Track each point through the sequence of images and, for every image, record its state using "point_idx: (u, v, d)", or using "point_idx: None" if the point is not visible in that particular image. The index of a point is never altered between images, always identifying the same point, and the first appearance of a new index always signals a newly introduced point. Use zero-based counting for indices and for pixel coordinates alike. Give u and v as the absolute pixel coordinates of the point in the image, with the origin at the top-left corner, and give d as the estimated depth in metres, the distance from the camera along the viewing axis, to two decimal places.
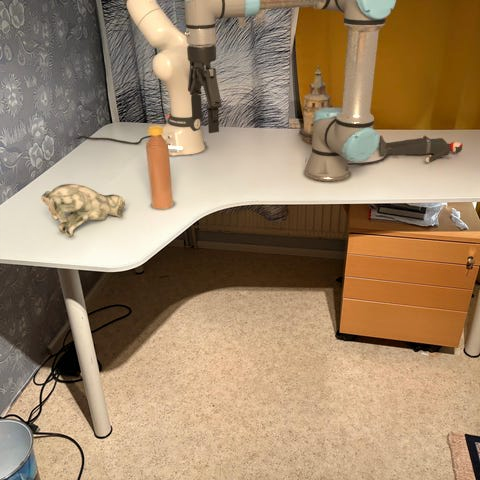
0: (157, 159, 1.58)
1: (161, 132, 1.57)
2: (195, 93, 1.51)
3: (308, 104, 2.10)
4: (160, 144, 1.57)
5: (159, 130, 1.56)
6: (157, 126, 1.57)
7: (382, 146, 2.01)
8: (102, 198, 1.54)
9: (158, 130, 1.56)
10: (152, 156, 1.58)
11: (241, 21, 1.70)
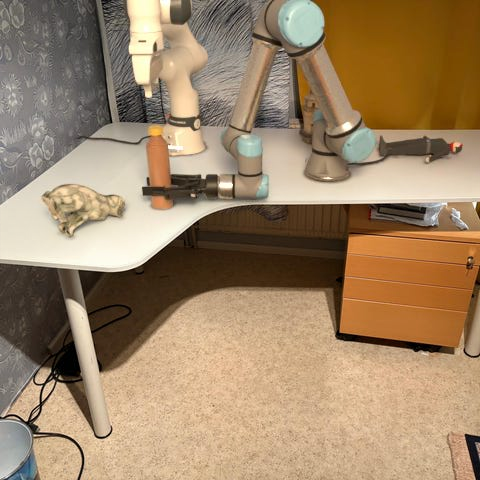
0: (157, 159, 1.58)
1: (161, 132, 1.57)
2: None
3: (308, 104, 2.10)
4: (160, 144, 1.57)
5: (159, 130, 1.56)
6: (157, 126, 1.57)
7: (382, 146, 2.01)
8: (102, 198, 1.54)
9: (158, 130, 1.56)
10: (152, 156, 1.58)
11: (148, 90, 1.47)
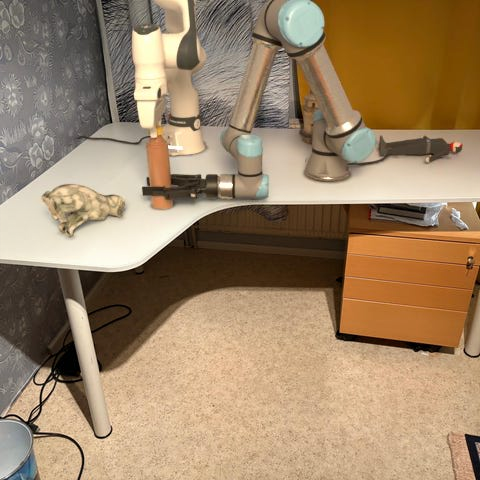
0: (157, 159, 1.58)
1: (161, 132, 1.57)
2: None
3: (308, 104, 2.10)
4: (160, 144, 1.57)
5: (159, 130, 1.56)
6: (157, 126, 1.57)
7: (382, 146, 2.01)
8: (102, 198, 1.54)
9: (158, 130, 1.56)
10: (152, 155, 1.58)
11: (153, 131, 1.54)
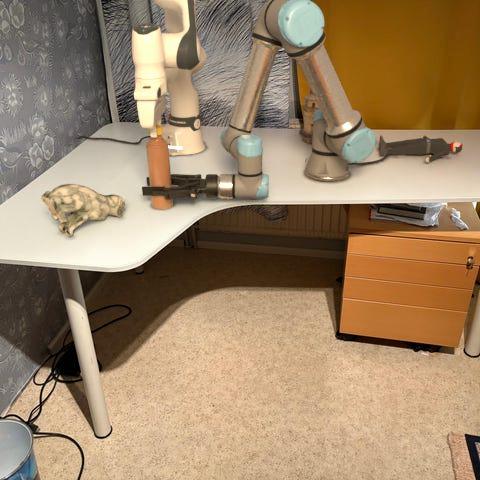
0: (157, 159, 1.58)
1: None
2: None
3: (308, 104, 2.10)
4: (160, 144, 1.57)
5: None
6: None
7: (382, 146, 2.01)
8: (102, 198, 1.54)
9: None
10: (152, 155, 1.58)
11: (153, 131, 1.54)
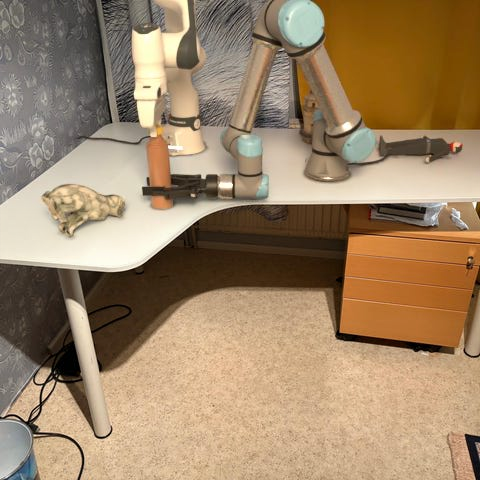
0: (157, 159, 1.58)
1: None
2: None
3: (308, 104, 2.10)
4: (160, 144, 1.57)
5: None
6: None
7: (382, 146, 2.01)
8: (102, 198, 1.54)
9: None
10: (152, 155, 1.58)
11: (153, 130, 1.54)
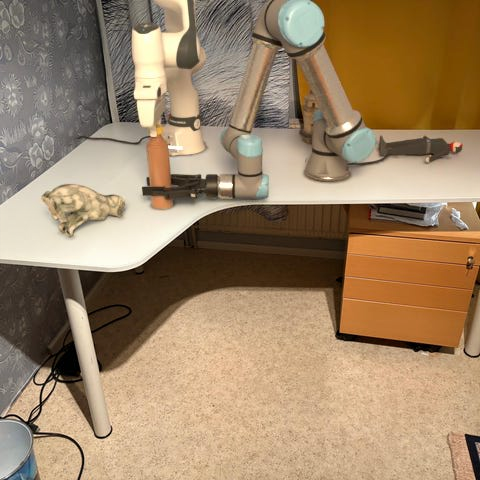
0: (157, 159, 1.58)
1: None
2: None
3: (308, 104, 2.10)
4: (160, 144, 1.57)
5: None
6: (157, 126, 1.56)
7: (382, 146, 2.01)
8: (102, 198, 1.54)
9: None
10: (152, 155, 1.58)
11: (153, 130, 1.54)
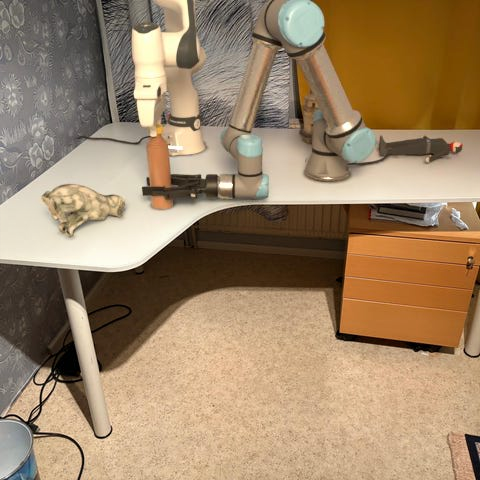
0: (157, 159, 1.58)
1: (160, 131, 1.56)
2: None
3: (308, 104, 2.10)
4: (160, 144, 1.57)
5: (158, 129, 1.55)
6: (158, 125, 1.57)
7: (382, 146, 2.01)
8: (102, 198, 1.54)
9: (157, 129, 1.55)
10: (152, 156, 1.58)
11: (153, 130, 1.54)
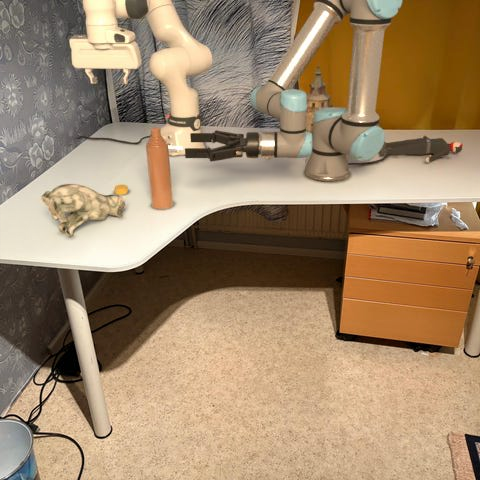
0: (157, 159, 1.58)
1: None
2: None
3: (308, 104, 2.10)
4: (160, 144, 1.57)
5: None
6: (118, 187, 1.77)
7: None
8: (102, 198, 1.54)
9: None
10: (151, 156, 1.58)
11: (127, 76, 1.59)
